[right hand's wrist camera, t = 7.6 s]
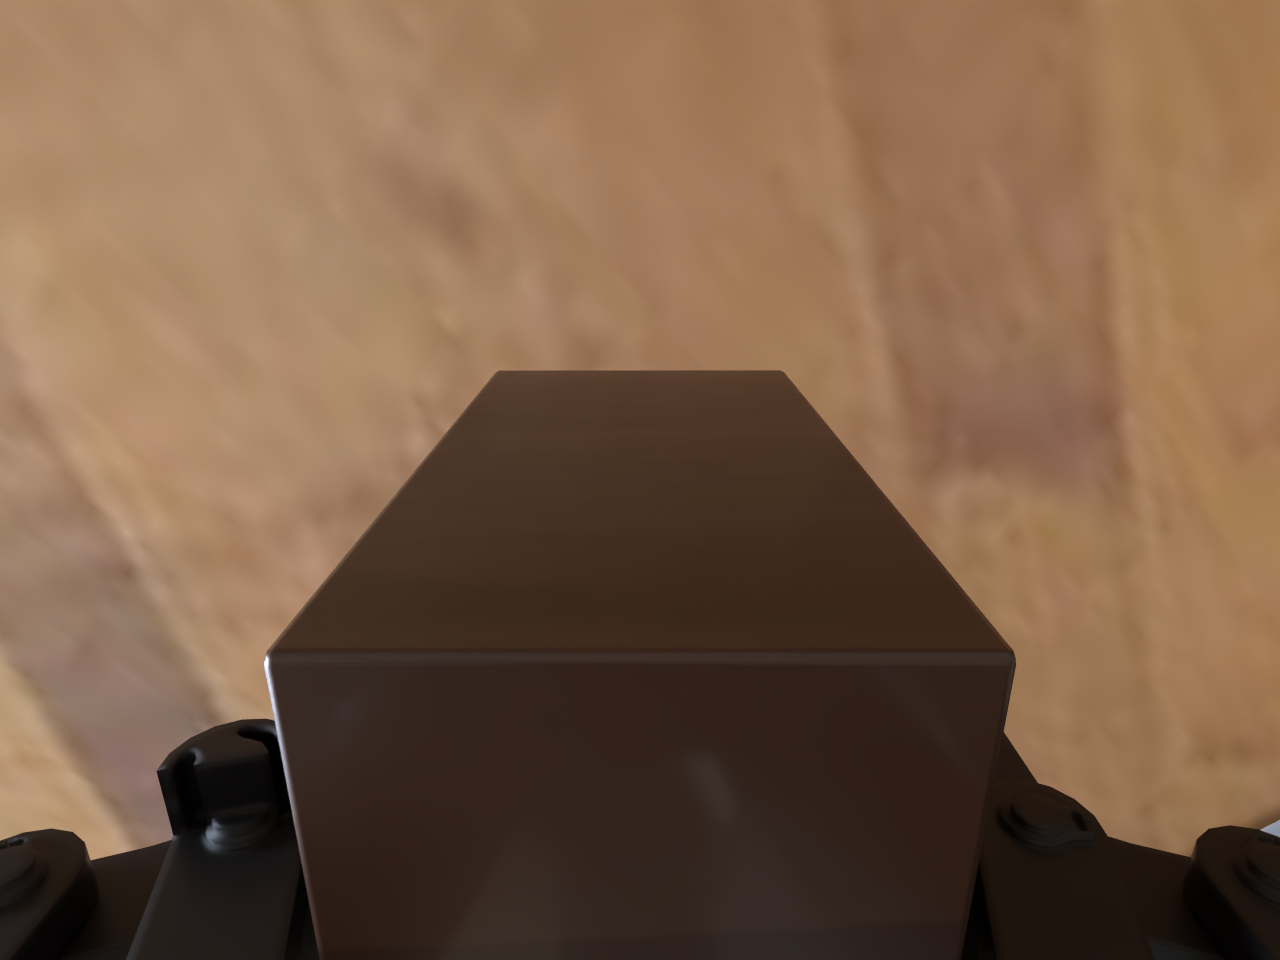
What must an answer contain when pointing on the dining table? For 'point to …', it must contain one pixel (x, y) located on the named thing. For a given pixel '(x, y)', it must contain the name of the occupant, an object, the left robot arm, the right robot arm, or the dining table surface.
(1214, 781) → the dining table surface
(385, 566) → the walnut beam
